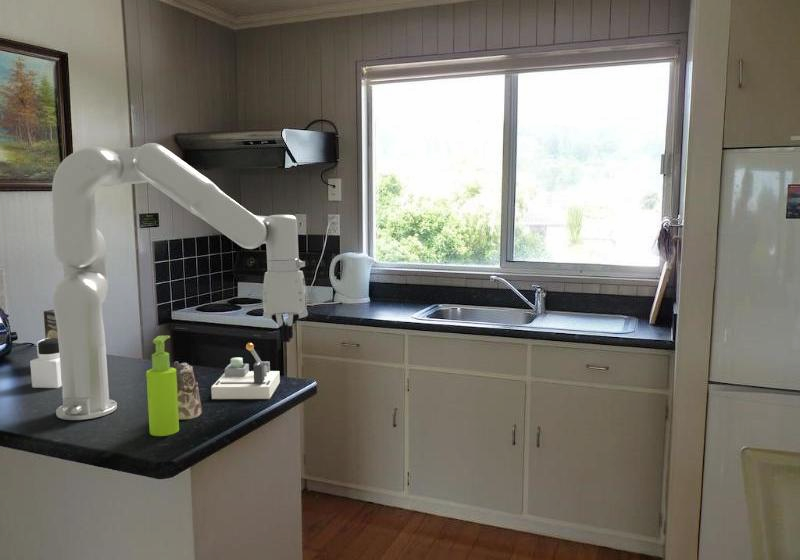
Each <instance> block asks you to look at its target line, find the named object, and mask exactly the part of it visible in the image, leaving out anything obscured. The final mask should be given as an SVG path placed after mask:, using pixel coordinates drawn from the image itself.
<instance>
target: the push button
mask: <svg viewBox="0 0 800 560" xmlns="http://www.w3.org/2000/svg"><path fill="white" fill-rule="evenodd" d="M243 359H244V358H243V357H239V356H238V357H232V358H230V364H231V368H243V364H244V360H243Z"/></svg>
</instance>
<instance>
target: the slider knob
mask: <svg viewBox="0 0 800 560" xmlns="http://www.w3.org/2000/svg"><path fill="white" fill-rule="evenodd" d="M264 362H265V361H262V362H257V361H255V363H254V364H253V371H254V383H263V381H264V380H265V378H264Z"/></svg>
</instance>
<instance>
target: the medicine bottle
mask: <svg viewBox="0 0 800 560" xmlns="http://www.w3.org/2000/svg"><path fill="white" fill-rule="evenodd" d="M36 350H37V358H33V359H32V360H30V361H29V362H30V363H29V364H30V376H31V388H33V389H34V388H40V389H59V388H62V381H61V368H60V354H59V343H58V338H47V339H46V338H43V339H41V340H38V341H37V342H36Z"/></svg>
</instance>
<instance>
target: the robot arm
mask: <svg viewBox="0 0 800 560" xmlns="http://www.w3.org/2000/svg"><path fill="white" fill-rule="evenodd" d="M147 183H148V184H150V185H152V186H153V187H154V188H155V189H157V190H159V192H162V193H163V194H165V195H166V196H167V197H169V198H170V199H172V200H173V201H174V202H175V203H177V204H179V205H180V206H181V207H182V208H184V209H186V210H187V211H188V212H190V213H191V214H193V215H194V216H196V217H198V218H200V219H201V220H203V221H204V222H206V223H207V224H209V226H211V227H213V228H214V229H216V230H217V231H219V232H220V233H221V234H223V235H224V236H226V237H227V238H228V239H230V240H231V241H232V242H234V243H235V244H237V245H238V246H239V247H241V248H243V249H248V250H253V249H256V248H259V247H260V246H262V245H264V244H265V245H266V247H265V248H266V264H267V265H266V266H267V271H266V272H264V275H263V277H264V278H263V288H262V292H263V293H262V308H263V309H262V310H263V314H262V318H265V319H268V320H273V321H274V323H276V324H277V325H278V327H279V338H280V339H282V341H281V342H282V343H290V342H291V340H292V339H293V338H294V327H293V326H294V324H295V323H296V321H297V320H298V319H302V318H306V317H308V315H309V313H308V309H307V308H308V307H307V306H308V299H307V287H306V280H305V275H304V272H303V270H300V269H301V268H304V267H306V261H304V260H301V259H300V257H299V234H298V219H297V217H296V216H295V215H292V214H272V215H268V216H267V215H255V214H254V213H252V212H250V211H249V210H247V209H246V208H245V207H244V206H243V205H240V204H239V203H238V202H237V201H235V200H234V199H233V198H231V196H229V195H227V194H226V193H225V192H224V191H222V190H221V188H219V187H218V186H217V185H216V184H215V183H214V182H213V181H211V180H210V179H209V178H208V177H206V176H205V175H203V174H202V173H200V172H199V171H198V170H196V169H195V168H194V167H192V166H191V165H189V164H188V163H187V162H186V161H184V160H182V159H181V158H180V157H179V156H177V155H175V153H173V152H172V151H170V150H169V149H167V148H166V147H165V146H163V145H161V144H159V143H156V142H147V143H145V144H142V145H141V146H136V147H135V146H134V147H123V148H120V147H119V148H105V147H101V146H94V145H93V146H87V147H83V148H80V149H78V150H76V151H74V152H72V153H70V154H69V155H67V156H66V157H65V158H64V159H63V160H62V161H61V162H60V163H59V165H58V167H57V168H56V171H55V173H54V175H53V179H52V188H51V195H52V196H51V197H52V198H51V199H52V226H53V250H54V255H55V258H57V261H58V262H59V263H61V265H63V267H62V268H63V279H62V280H60V281H59V283H58V285H57V286H56V287H55V290H54V293H53V299H52V305H53V310H54V313H55V318H56V324H57V332H58V343H59V354H60V368H61V381H62V386H61V391H62V393H61V394H62V405H60V406H59V407H57V408H56V410H55V415H56V417H57V418H58V419H61V420H67V421H83V420H91V419H96V418H99V417H104V416H107V415H109V414H111V413H113V412H114V411H116V410H117V408H118V403H117V401H116V400H113V399H110V391H109V390H110V389H109V378H108V377H109V376H108V374H109V373H108V363H107V362H108V361H107V346H106V345H107V344H106V335H105V323H104V317H103V306H102V305H103V303H104V302H105V300H106V298H107V297H108V291H109V279H108V278H109V276H108V275H109V274H108V260H107V259H108V258H107V257H108V255H107V244H106V239H105V236H104V235H103V234H102V232H101V231H100V230H99V229H98V228H97V220H96V219H97V218H96V215H97V213H96V212H97V211H96V202H95V201H96V200H95V193H96V191H97V188H98V187H99V188H100V187H111V186H122V185H132V184H133V185H135V184H136V185H137V184H147ZM284 314H285V315H286V314H287V322H286V320H285V317H284Z"/></svg>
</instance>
